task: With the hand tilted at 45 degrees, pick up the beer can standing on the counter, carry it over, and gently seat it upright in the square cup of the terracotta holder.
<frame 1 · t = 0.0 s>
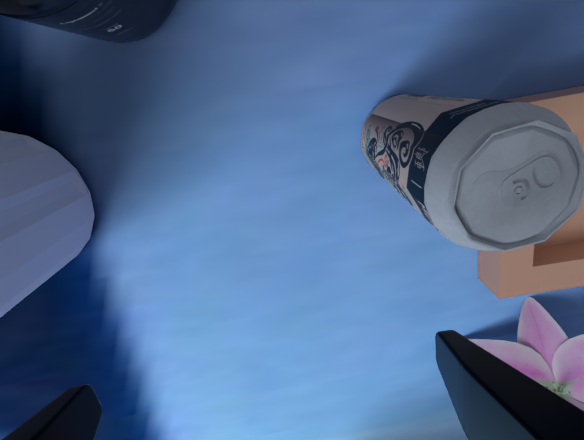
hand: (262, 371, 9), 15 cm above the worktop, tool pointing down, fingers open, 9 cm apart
holder: (573, 183, 23), on the worktop
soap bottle: (28, 201, 23), on the worktop
beer can: (396, 135, 22), on the worktop
lily: (516, 342, 27), on the worktop
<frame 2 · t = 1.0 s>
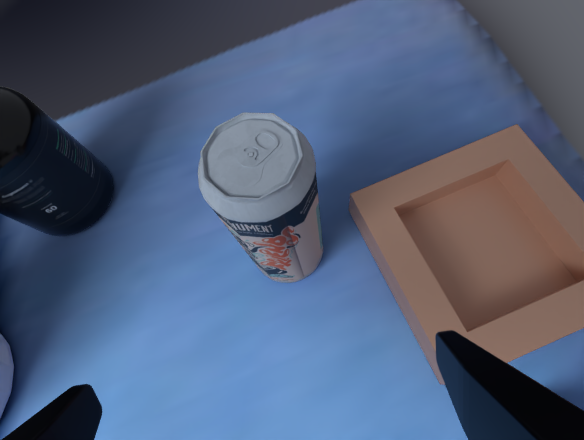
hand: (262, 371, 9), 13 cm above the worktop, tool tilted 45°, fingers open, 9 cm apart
holder: (473, 251, 23), on the worktop
supplement bottle: (77, 199, 28), on the worktop
beer can: (289, 251, 24), on the worktop
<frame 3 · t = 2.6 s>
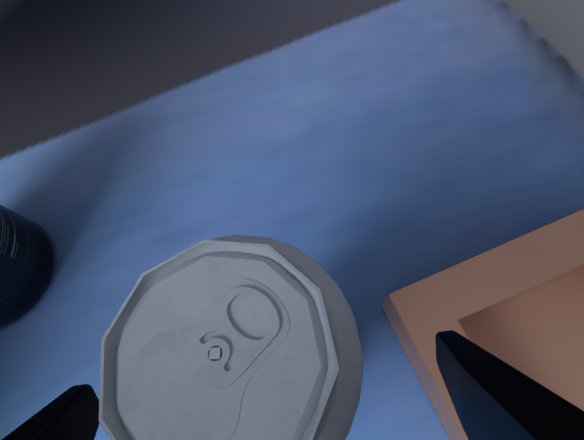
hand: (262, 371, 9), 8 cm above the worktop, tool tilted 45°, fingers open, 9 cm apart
holder: (575, 380, 15), on the worktop
supplement bottle: (4, 275, 20), on the worktop
beer can: (295, 367, 17), on the worktop
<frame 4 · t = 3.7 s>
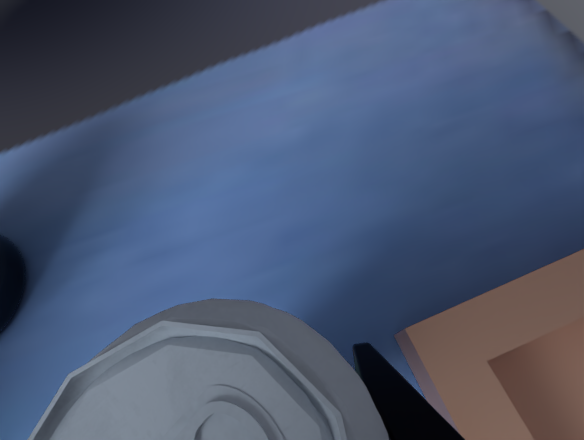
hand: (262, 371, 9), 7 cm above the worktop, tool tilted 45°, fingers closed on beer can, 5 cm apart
beer can: (296, 407, 15), on the worktop, touching gripper
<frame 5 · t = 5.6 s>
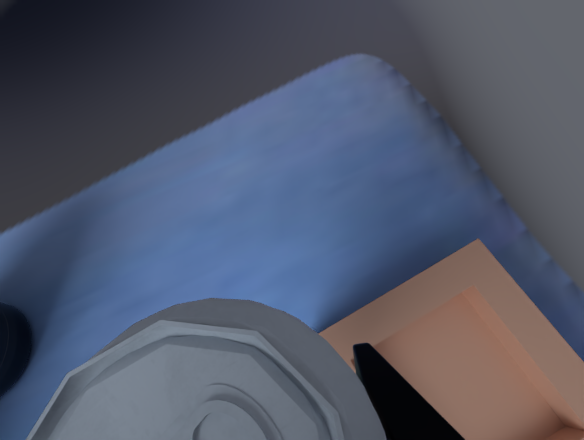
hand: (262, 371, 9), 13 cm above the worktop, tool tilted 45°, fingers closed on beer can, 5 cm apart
holder: (447, 390, 20), on the worktop
beer can: (295, 406, 15), point 6 cm above the worktop, touching gripper
when the fingers open (8 cm above the worktop, at t = 7.8 s): beer can drops 1 cm, resting on holder.
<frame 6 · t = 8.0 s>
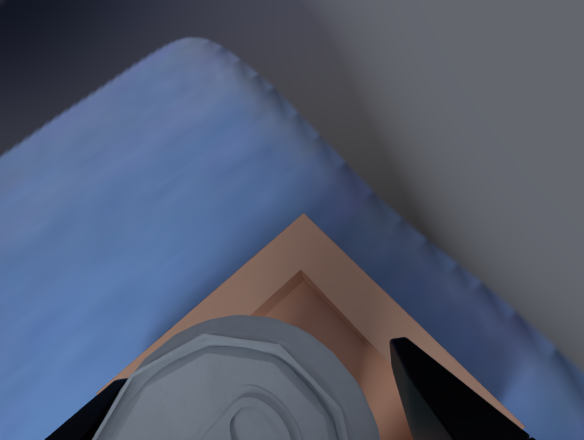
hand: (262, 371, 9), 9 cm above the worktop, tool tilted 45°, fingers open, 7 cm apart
holder: (300, 403, 16), on the worktop
beer can: (298, 408, 16), resting on holder
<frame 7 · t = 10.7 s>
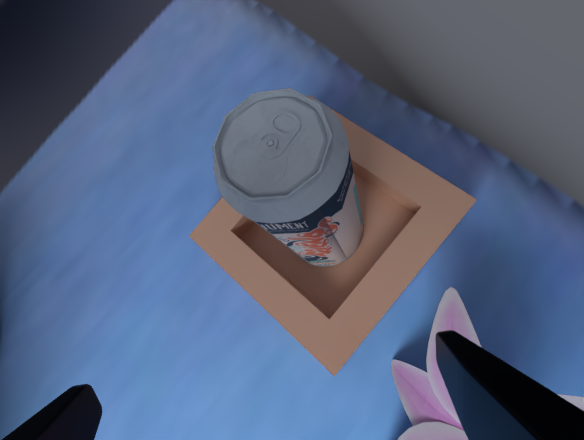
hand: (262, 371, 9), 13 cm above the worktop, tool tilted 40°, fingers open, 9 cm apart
holder: (326, 229, 23), on the worktop
beer can: (326, 231, 22), resting on holder
lily: (453, 425, 19), on the worktop
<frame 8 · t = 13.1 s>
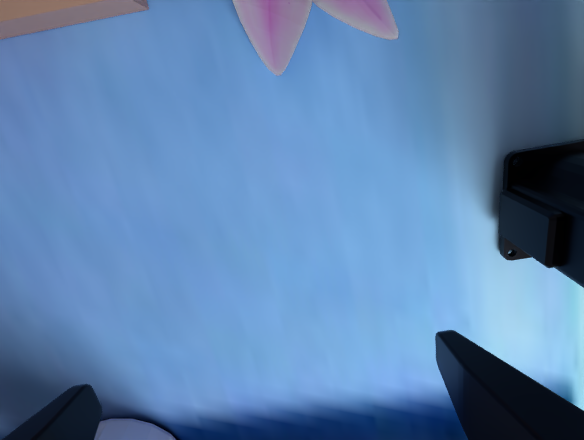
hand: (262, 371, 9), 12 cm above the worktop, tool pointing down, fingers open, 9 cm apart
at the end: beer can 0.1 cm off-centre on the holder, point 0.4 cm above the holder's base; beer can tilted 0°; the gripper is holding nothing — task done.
